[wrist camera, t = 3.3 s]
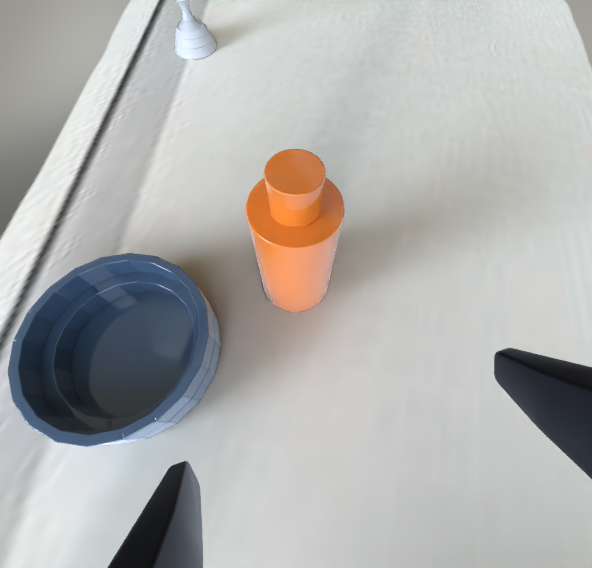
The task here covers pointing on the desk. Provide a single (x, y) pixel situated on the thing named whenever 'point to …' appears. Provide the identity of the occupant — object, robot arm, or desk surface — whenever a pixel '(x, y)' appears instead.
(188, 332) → the bowl
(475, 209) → the desk surface
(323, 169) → the orange bottle
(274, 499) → the desk surface
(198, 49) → the chalice
